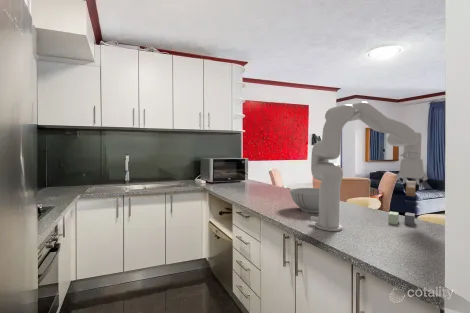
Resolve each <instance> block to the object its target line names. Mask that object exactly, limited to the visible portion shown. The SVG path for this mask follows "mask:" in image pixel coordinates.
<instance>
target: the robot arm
mask: <svg viewBox="0 0 470 313" xmlns="http://www.w3.org/2000/svg"><path fill="white" fill-rule="evenodd" d="M324 119H325V122H324V124H323V127H322V134H321V135H322V137H321V140H319V141H318V140H317V141H316V143H314V144H313V146H312V149H311V157H310V158H311V160H310V162H311V163H310V164H311V165H310V169H311V171H310V172H311V176H312V177H313V178H314V179H316V180H318V181H321V183H320V185H319V188H318V189H319V212H318V216H314V215H311V216H310V221H313V222H315V223H314V227H315V228H317V229H318V230H323V231H328V232H339V231H342V230H343V225H341V223H340V211H341V210H340V207H341V206H340V204H341V184H342V179H343V176H344V175H343V169H342V168H341V166H340V165H339V164H337V163H336V162H335V163H334V162H330V160H337V159H338V158H339V157H340V155H341V148H342V147H341V144H342V130H343V128H344V126H345V125H346V124H347V123H349V122H353V121H357V120H359V121H361V122H362V123H363V124H365V125H366V126H367V127H369V129H370V128H371V130H373V131H375V132H378V133H383V134H388V135H387V137H386V141H387V144H389V145H390V146H392V147H403V153H400V154H399V157H401V159H400V165H399V171H398V173H397V174H396V175H395V178H396V179H397V180H399V181H400V182H401V183H403V184H402V187H403V188H402V189H403V190H404V192H406V183H407V179H415V181H416V184H415V192H416V193H417V192H418V191H419V189H420V188H419V187H420V185H421V183H423V182H424V181H428V178H429V177H428V176H427V175H426V174H425V173H424V160H423V159H422V156H421V155H422V133H421V132H416V131H415V130H414V129H413V128H411V127H410V126H409V125H407V124H406V123H404V122H401V121H399V120H396V119H394V118H391V117H388V116H386V115H385V114H383V113H382V112H381V111H380V110H378V109H377V108H376V107H375V106H373V105H371V104H370V103H369V102H367V101H360V102H356V103H353V104H352V103H351V104H349V103H348V104H341V105H338V106H333V107H331V108H328V109H327V111H325V115H324Z"/></svg>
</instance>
